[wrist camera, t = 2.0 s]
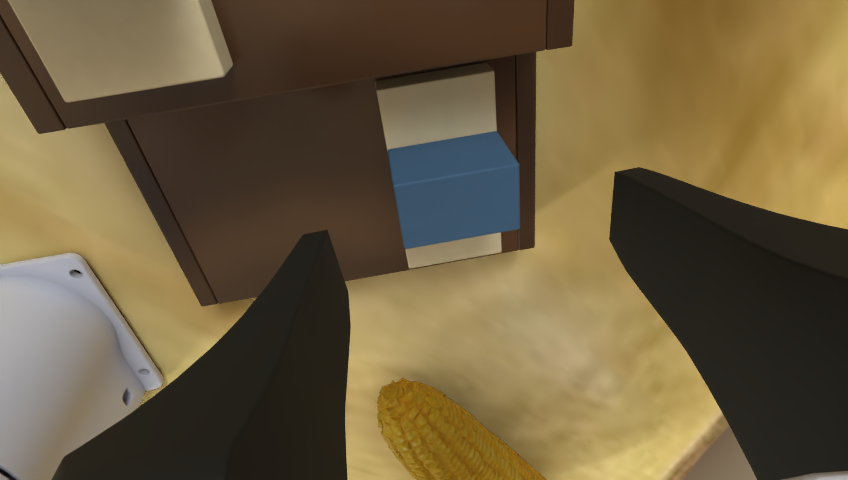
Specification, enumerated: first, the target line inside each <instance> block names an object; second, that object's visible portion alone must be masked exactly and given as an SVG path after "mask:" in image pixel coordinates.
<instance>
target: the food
mask: <svg viewBox="0 0 848 480" xmlns="http://www.w3.org/2000/svg"><path fill="white" fill-rule="evenodd" d="M380 394H381V395H380V396H379V397H378V402H377V404H378V405H379V406H378V411H379V413H378V425H379V427H382V431H381V434H382V435H383V437H384V439H385V440H386V442H387V444H388V445H389V448H390V449H392V451H393V452H394V454H395V456H396V457H397V459H398V460H399V461H400V462H401V463H402V464H403V465H404V466H405V468H406V469H407V470H408V471H409V472H410V473H411V474H412V476H413V477H414V478H415V479H418V480H546V478H545V477H542V475H540V474H539V473H538V472H537V471H536V470H534V469H533V468H532V467H531V466H530V465H529V464H528V463H527V462H526V461H524V460H523V459H521V457H520V456H519V455H517V454H516V453H515V452H514V451H513V450H512V449H511V448H510V447H509V446H508V445H506V444H505V443H504V442H503V441H501V440H499V439H498V436H494V434H493V433H491V432H490V431H488V430H486V428H485V427H483V425H482V424H480V423H479V422H478V420H476V419H475V418H474V417H473V416H472V415H470V414H469V413H468V412H467V411H466V410H465V409H463V408H462V407H461V406H460V405H458V404H456V403H455V402H453V401H452V400H450V399H449V398H447V397H446V395H444V394H443V393H442V392H440V391H438V390H436V389H435V388H433V387H431V386H427V385H425V384H422V383H419V382H417V381H413V382H410V381H408V380H406V379H404V378H402V379H401V380H399V381H398V382H397V383H395V382H394V381H392V382H391V384H390V385H387V386H384V387H382V389H381V391H380Z"/></svg>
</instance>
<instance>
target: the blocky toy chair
mask: <svg viewBox="0 0 848 480" xmlns="http://www.w3.org/2000/svg"><path fill="white" fill-rule="evenodd" d="M375 85H376V91H377V97H378V102H379V108H380V113H381V119H382V124H383V130H384V135H385V141H386V146H387V152H388V158H389V165H390V171H391V178H392V184H393V190H394V195H395V201H396V206H397V212H398V217H399V222H400V228H401V233H402V239H403V244H404V248H405V250H406V255H407V261H408V266H409V269H411V268H416V267H422V266H428V265H433V264H439V263H444V262H450V261H456V260H461V259H467V258H472V257H478V256H484V255H489V254H495V253H500V252H502V248H501V232H506V231H511V230H517V229H520V175H519V163H518V162H517V161H516V159H515V158H514V156H513V155H512V153H511V152H510V150H509V149H508V147H507V146H506V144H505V143H504V141H503V140H502V138H501V137H500V135H499V134H498V132H497V125H496V101H495V76H494V70H493V69H492V68H491V67H490V66H489V65H488V64H487V63H481V64H475V65H469V66H462V67H456V68H450V69H444V70H438V71H432V72H426V73H420V74H414V75H408V76H402V77H396V78H390V79H384V80H378V81H375Z"/></svg>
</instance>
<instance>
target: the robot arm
mask: <svg viewBox="0 0 848 480" xmlns="http://www.w3.org/2000/svg"><path fill="white" fill-rule="evenodd" d="M609 240H610V242H611V244H612V246H613V248H614V249H615V251H616V253H617V255H618V257H619V259H620V261H621V262H622V264H623V266H624V268H625V269H626V271H627V272H628V274H629V275H630V277H631V278H632V279H633V281H634V282H635V283H636V285H637V286H638V287H639V289H640V290H641V291H642V293H643V294H644V295H645V297H646V298H647V299H648V301H649V302H650V303H651V304H652V306H653V307H654V308H655V310H656V311H657V312H658V314H659V315H660V316H661V317H662V319H663V320H664V321H665V323H666V324H667V325H668V327H669V328H670V329H671V330H672V332H673V333H674V334H675V336H676V337H677V338H678V340H679V341H680V343H681V344H682V346H683V347H684V348H685V350H686V351H687V353H688V354H689V356H690V358H691V359H692V361H693V363H694V364H695V366H696V368H697V369H698V371H699V373H700V374H701V376H702V378H703V379H704V381H705V383H706V384H707V386H708V388H709V390H710V391H711V393H712V395H713V397H714V399H715V400H716V402H717V404H718V406H719V407H720V409H721V411H722V413H723V415H724V416H725V418H726V420H727V422H728V423H729V425H730V427H731V429H732V431H733V433H734V435H735V437H736V439H737V441H738V443H739V445H740V447H741V449H742V450H743V452H744V454H745V456H746V458H747V460H748V462H749V464H750V466H751V468H752V470H753V472H754V474H755V476H756V478H757V480H848V229H843V228H838V227H833V226H828V225H823V224H819V223H815V222H811V221H807V220H802V219H798V218H794V217H790V216H786V215H782V214H779V213H775V212H772V211H768V210H765V209H762V208H758V207H755V206H752V205H749V204H745V203H742V202H739V201H736V200H733V199H730V198H727V197H724V196H721V195H718V194H716V193H713V192H710V191H707V190H704V189H702V188H699V187H696V186H693V185H691V184H688V183H685V182H683V181H680V180H677V179H674V178H672V177H669V176H666V175H663V174H660V173H657V172H654V171H651V170H648V169H644V168H640V167H638V168H633V169H628V170H623V171H618V172H615V176H614V189H613V201H612V213H611V226H610V238H609ZM75 270H78V271H80V272H81V273H77V272H76V271H75ZM349 343H350V310H349V297H348V290H347V287H346V284H345V281H344V278H343V275H342V272H341V269H340V266H339V263H338V260H337V257H336V254H335V251H334V248H333V245H332V242H331V239H330V236H329V233H328V230H323V231H318V232H313V233H308V234H303V235H302V237H301V238H300V239H299V241H298V242H297V244H296V245H295V247H294V248H293V249H292V251H291V252H290V254H289V255H288V257H287V258H286V260H285V261H284V262H283V264H282V265H281V267H280V268H279V270H278V271H277V272H276V274H275V275H274V277H273V278H272V279H271V281H270V282H269V283H268V285H267V286H266V287H265V289H264V290H263V291H262V292H261V294H260V295H259V296H258V297H257V299H256V300H255V301H254V302H253V303H252V305H251V306H250V307H249V308H248V310H247V311H246V312H245V313H244V314H243V316H242V317H241V318H240V319H239V320H238V321H237V322H236V323H235V324H234V325H233V327H232V328H231V329H230V330H229V331H228V332H227V333H226V334H225V335H224V336H223V337H222V338H221V339H220V340H219V341H218V342H217V343H216V344H215V345H214V346H213V347H212V348H211V349H210V350H208V351H207V352H206V353H205V354H204V355H203V356H202V357H200V358H199V359H198V360H197V361H196V362H195V363H194V364H192V365H191V366H190V367H189V368H188V369H187V370H186V371H184V372H183V373H182V374H181V375H180V376H179V377H178V378H176V379H175V380H174V381H173V382H171V383H170V384H169V385H168V386H166V387H165V388H164V389H163V390H161V391H160V392H159V393H157V394H156V395H155V396H153V397H152V398H151V399H149V400H148V401H147V402H145V403H144V404H143V405H141V406H140V407H139V405H140V403H141V401H142V398H143V396H144V394H145V391H148V390H153V389H157V388H160V387H161V386H162V384H163V381H164V378H163V376H162V375H161V373H160V372H159V370H158V369H157V367H156V366H155V364H154V363H153V361H152V360H151V358H150V357H149V355H148V354H147V352H146V351H145V349H144V348H143V346H142V345H141V343H140V342H139V340H138V339H137V337H136V336H135V334H134V333H133V331H132V330H131V328H130V327H129V325H128V324H127V322H126V321H125V319H124V318H123V316H122V315H121V313H120V312H119V310H118V309H117V307H116V306H115V304H114V303H113V301H112V300H111V298H110V297H109V295H108V294H107V292H106V291H105V289H104V288H103V286H102V285H101V283H100V282H99V280H98V279H97V277H96V276H95V274H94V273H93V272H92V270H91V269H90V267H89V266H88V264H87V263H86V261H85V260H84V259H83V257H82V256H80V255H78V254H75V253H64V254H59V255H53V256H47V257H41V258H36V259H30V260H24V261H18V262H13V263H7V264H1V265H0V480H347V463H346V438H345V402H346V387H347V373H348V358H349ZM145 369H146V370H145Z"/></svg>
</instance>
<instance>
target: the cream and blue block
mask: <svg viewBox="0 0 848 480" xmlns="http://www.w3.org/2000/svg"><path fill="white" fill-rule="evenodd" d="M8 2H9V3H10V5H11V7H12V9H13V10H14V12H15V14H16V16H17V18H18V19H19V21H20V23H21V25H22V26H23V28H24V30H25V32H26V33H27V35H28V37H29V39H30V41H31V42H32V44H33V46H34V48H35V49H36V51H37V53H38V55H39V57H40V58H41V60H42V62H43V64H44V65H45V67H46V69H47V71H48V72H49V74H50V76H51V78H52V80H53V81H54V83H55V85H56V87H57V88H58V90H59V92H60V94H61V96H62V97H63V99H64V101H65V102H74V101H81V100H87V99H93V98H99V97H105V96H111V95H117V94H123V93H130V92H136V91H142V90H148V89H154V88H160V87H166V86H173V85H179V84H185V83H191V82H197V81H203V80H209V79H215V78H222V77H224V76H225V75H226V74H227V73H228V71H229V70H230V69H231V68H232V66H233V62H232V59H231V56H230V53H229V51H228V48H227V45H226V42H225V39H224V36H223V33H222V30H221V27H220V24H219V21H218V19H217V16H216V13H215V10H214V7H213V4H212V1H211V0H8Z"/></svg>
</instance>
